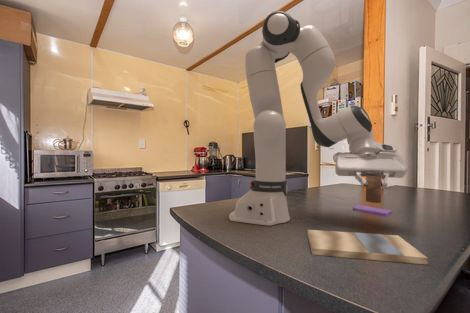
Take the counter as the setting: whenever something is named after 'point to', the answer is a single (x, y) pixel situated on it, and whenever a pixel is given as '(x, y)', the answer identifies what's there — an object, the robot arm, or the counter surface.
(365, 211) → the sponges
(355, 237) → the plywood board
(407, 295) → the counter surface
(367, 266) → the counter surface
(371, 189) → the peg
